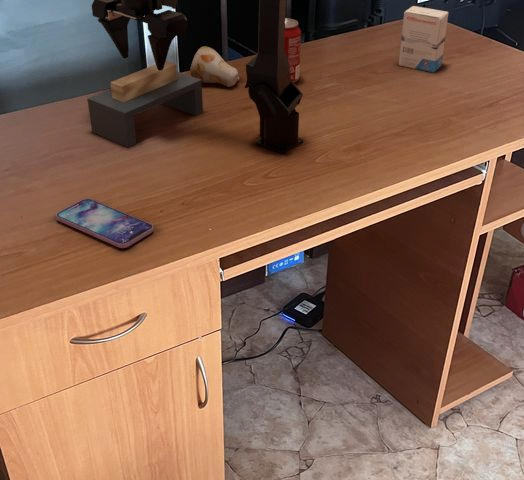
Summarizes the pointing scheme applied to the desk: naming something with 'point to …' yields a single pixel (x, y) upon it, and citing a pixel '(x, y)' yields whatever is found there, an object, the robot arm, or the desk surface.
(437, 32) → the ink box
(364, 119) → the desk surface
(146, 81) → the stick
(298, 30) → the soda can
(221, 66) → the cream rounded tapered piece
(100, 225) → the smartphone
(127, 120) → the small grey bench
